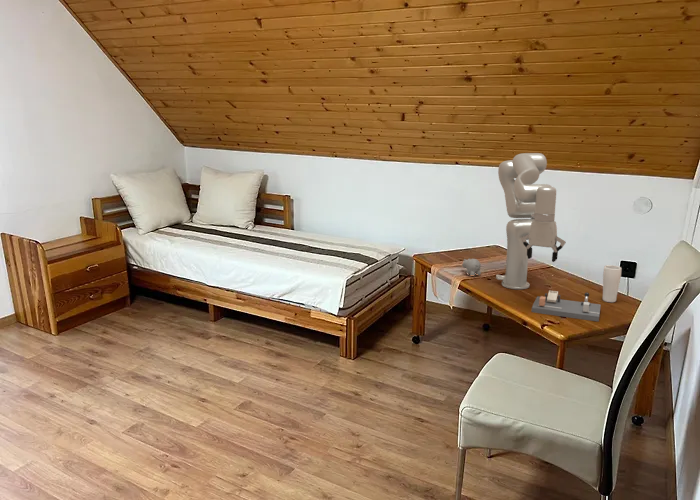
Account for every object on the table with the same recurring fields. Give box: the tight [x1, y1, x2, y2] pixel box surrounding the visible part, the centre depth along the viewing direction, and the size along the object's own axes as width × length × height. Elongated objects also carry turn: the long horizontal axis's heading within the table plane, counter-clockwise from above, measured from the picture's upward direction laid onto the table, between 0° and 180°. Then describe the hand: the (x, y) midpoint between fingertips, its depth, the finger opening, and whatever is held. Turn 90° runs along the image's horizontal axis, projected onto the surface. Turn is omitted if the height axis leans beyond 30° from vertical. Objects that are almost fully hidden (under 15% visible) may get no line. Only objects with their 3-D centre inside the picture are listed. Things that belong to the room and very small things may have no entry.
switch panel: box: [531, 292, 602, 322], centre depth 220 cm, size 25×15×5 cm, turn 64°
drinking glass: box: [602, 264, 622, 303], centre depth 230 cm, size 7×7×15 cm
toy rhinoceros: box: [461, 257, 482, 276], centre depth 271 cm, size 7×12×8 cm, turn 22°
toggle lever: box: [584, 292, 590, 302], centre depth 221 cm, size 2×2×5 cm
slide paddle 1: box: [539, 295, 546, 306], centre depth 220 cm, size 2×3×3 cm, turn 154°
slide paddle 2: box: [583, 301, 589, 312], centre depth 213 cm, size 2×3×3 cm, turn 154°
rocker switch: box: [547, 290, 559, 302], centre depth 226 cm, size 4×7×1 cm, turn 154°
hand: (541, 259), depth 219 cm, fingers open, 9 cm apart
